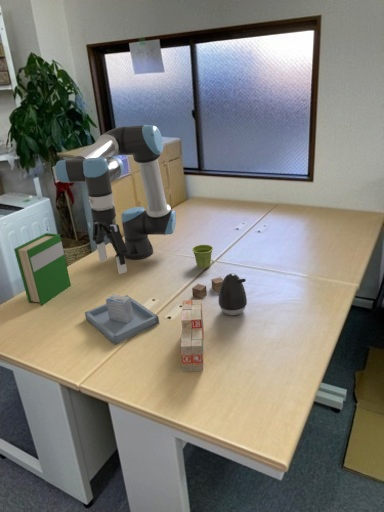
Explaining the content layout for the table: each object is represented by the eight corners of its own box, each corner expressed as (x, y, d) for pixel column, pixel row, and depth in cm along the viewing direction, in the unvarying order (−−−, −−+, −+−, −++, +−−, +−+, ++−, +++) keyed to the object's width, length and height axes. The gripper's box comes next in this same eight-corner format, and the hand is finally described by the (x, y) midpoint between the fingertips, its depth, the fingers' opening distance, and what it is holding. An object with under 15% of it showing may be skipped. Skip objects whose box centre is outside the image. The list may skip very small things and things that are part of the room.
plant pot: (212, 270, 179) (211, 252, 176) (191, 270, 182) (190, 252, 178) (215, 261, 188) (214, 244, 184) (195, 261, 190) (194, 244, 186)
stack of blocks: (203, 371, 118) (201, 336, 113) (182, 372, 118) (179, 337, 113) (203, 330, 138) (201, 298, 133) (185, 331, 138) (182, 299, 133)
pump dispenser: (240, 321, 140) (238, 283, 134) (214, 315, 146) (211, 277, 140) (252, 308, 148) (251, 271, 142) (227, 302, 153) (225, 266, 147)
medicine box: (134, 317, 146) (130, 297, 143) (127, 324, 142) (123, 303, 139) (116, 314, 149) (112, 293, 146) (109, 320, 146) (105, 299, 142)
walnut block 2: (211, 287, 165) (211, 279, 163) (220, 285, 166) (220, 277, 164) (215, 292, 162) (215, 283, 160) (224, 289, 163) (224, 281, 161)
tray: (86, 319, 149) (84, 312, 148) (127, 301, 159) (126, 294, 158) (114, 344, 133) (113, 337, 132) (159, 323, 143) (158, 316, 142)
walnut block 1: (192, 296, 159) (192, 287, 158) (198, 292, 162) (197, 283, 161) (201, 299, 157) (200, 290, 155) (206, 294, 160) (206, 286, 158)
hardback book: (42, 305, 162) (28, 250, 152) (28, 302, 165) (13, 248, 155) (71, 285, 176) (59, 234, 167) (57, 283, 179) (46, 233, 169)
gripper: (75, 202, 136) (87, 259, 145) (110, 218, 118) (121, 281, 127) (95, 197, 140) (105, 252, 149) (132, 211, 122) (141, 273, 131)
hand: (112, 266), depth 138 cm, fingers open, 13 cm apart
